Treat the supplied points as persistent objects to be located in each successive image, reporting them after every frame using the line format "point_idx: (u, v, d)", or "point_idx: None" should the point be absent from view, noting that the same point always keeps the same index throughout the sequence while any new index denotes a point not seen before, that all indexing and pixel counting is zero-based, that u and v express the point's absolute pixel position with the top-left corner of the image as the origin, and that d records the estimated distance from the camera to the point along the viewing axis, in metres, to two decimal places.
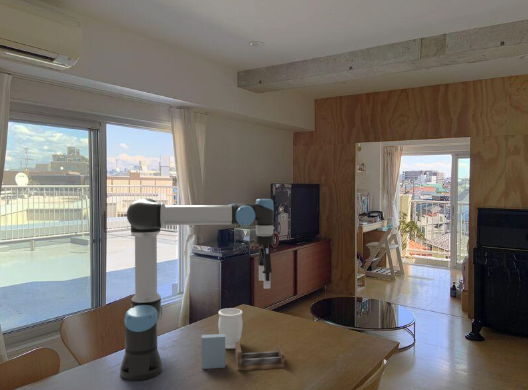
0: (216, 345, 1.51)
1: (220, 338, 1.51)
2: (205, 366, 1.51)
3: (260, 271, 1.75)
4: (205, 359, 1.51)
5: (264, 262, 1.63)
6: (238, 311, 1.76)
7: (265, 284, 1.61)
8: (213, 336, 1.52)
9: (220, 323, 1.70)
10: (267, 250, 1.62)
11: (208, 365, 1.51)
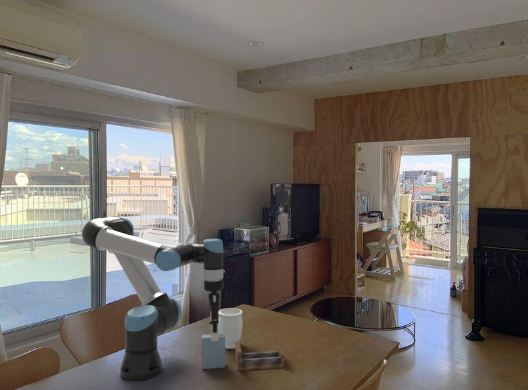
0: (216, 345, 1.51)
1: (220, 338, 1.51)
2: (205, 366, 1.51)
3: (211, 317, 1.59)
4: (205, 359, 1.51)
5: None
6: (238, 311, 1.76)
7: (212, 336, 1.45)
8: None
9: (220, 323, 1.70)
10: (214, 298, 1.45)
11: (208, 365, 1.51)
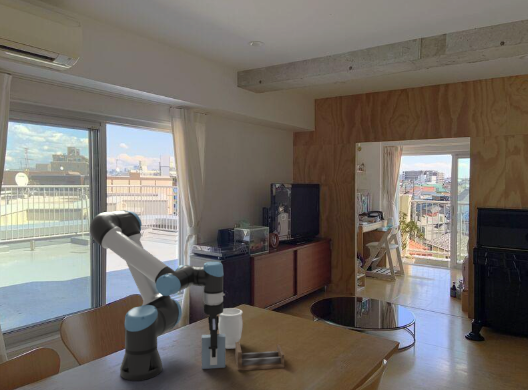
0: None
1: (220, 338, 1.51)
2: (205, 366, 1.51)
3: None
4: (205, 359, 1.51)
5: None
6: (238, 311, 1.76)
7: (211, 360, 1.50)
8: None
9: (220, 323, 1.70)
10: (214, 327, 1.46)
11: (208, 365, 1.51)
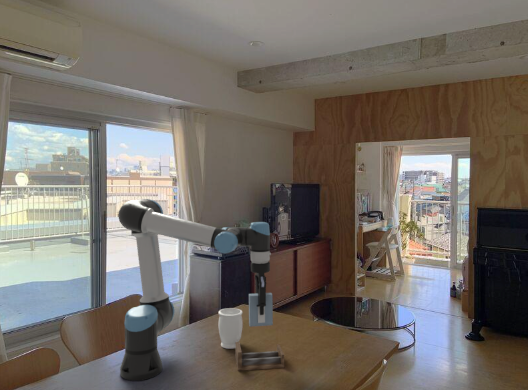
0: None
1: (267, 296, 1.54)
2: (253, 324, 1.53)
3: None
4: (253, 317, 1.53)
5: (259, 294, 1.52)
6: (238, 311, 1.76)
7: (259, 318, 1.53)
8: None
9: (220, 323, 1.70)
10: (262, 284, 1.48)
11: (256, 323, 1.53)
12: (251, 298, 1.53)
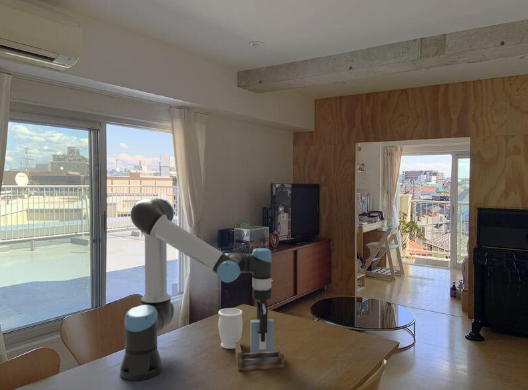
0: None
1: (269, 323, 1.54)
2: (254, 350, 1.54)
3: None
4: (254, 343, 1.54)
5: (260, 321, 1.53)
6: (238, 311, 1.76)
7: (260, 344, 1.53)
8: None
9: (220, 323, 1.70)
10: (264, 312, 1.49)
11: (257, 349, 1.54)
12: (252, 325, 1.53)
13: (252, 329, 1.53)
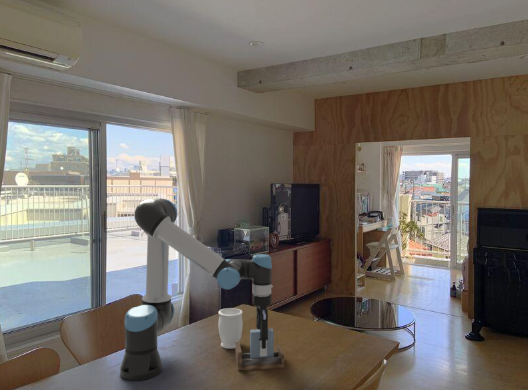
0: None
1: (269, 333, 1.54)
2: None
3: None
4: (254, 353, 1.54)
5: (261, 327, 1.51)
6: (238, 311, 1.76)
7: (261, 351, 1.51)
8: None
9: (220, 323, 1.70)
10: (264, 317, 1.49)
11: None
12: (252, 335, 1.53)
13: (252, 339, 1.54)
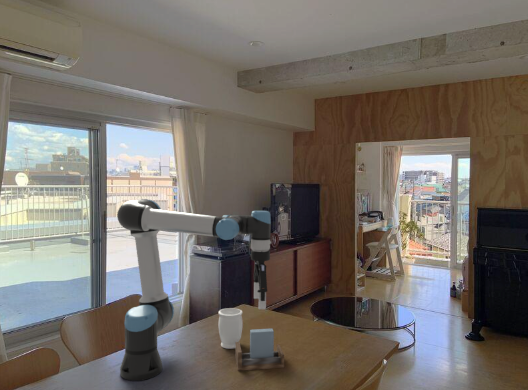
0: (265, 339, 1.54)
1: (269, 333, 1.54)
2: None
3: (255, 288, 1.62)
4: (254, 353, 1.54)
5: (259, 280, 1.50)
6: (238, 311, 1.76)
7: (260, 304, 1.48)
8: (262, 331, 1.55)
9: (220, 323, 1.70)
10: (262, 267, 1.48)
11: None
12: (252, 335, 1.53)
13: (252, 339, 1.54)
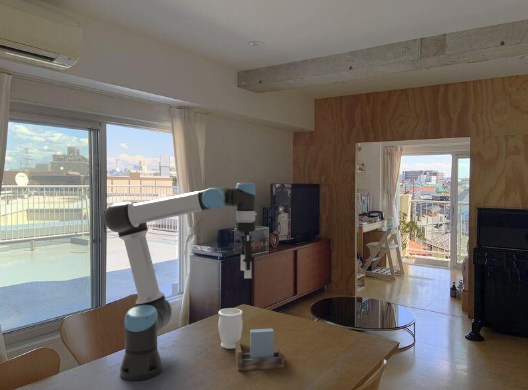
0: (265, 339, 1.54)
1: (269, 333, 1.54)
2: None
3: (242, 260, 1.64)
4: (254, 353, 1.54)
5: (245, 250, 1.52)
6: (238, 311, 1.76)
7: (246, 273, 1.51)
8: (262, 331, 1.55)
9: (220, 323, 1.70)
10: (247, 237, 1.51)
11: None
12: (252, 335, 1.53)
13: (252, 339, 1.54)
